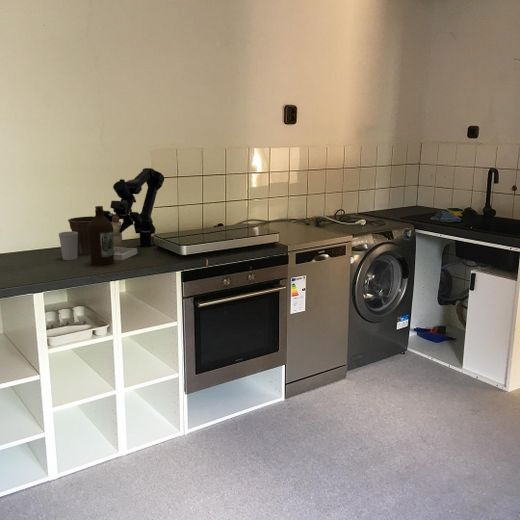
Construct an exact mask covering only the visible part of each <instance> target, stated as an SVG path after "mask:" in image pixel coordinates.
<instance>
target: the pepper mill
mask: <svg viewBox="0 0 520 520" xmlns="http://www.w3.org/2000/svg"><path fill="white" fill-rule="evenodd" d="M112 220H113V222H111V223H112V225H113V229H114V247H120V248H123V232H122V233H120V232H119V231H120V228H121V225H122V221H120V220H121V219H120V218H119V216H118V215H114V216H113V217H112Z"/></svg>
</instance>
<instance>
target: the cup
mask: <svg viewBox="0 0 520 520" xmlns="http://www.w3.org/2000/svg"><path fill="white" fill-rule="evenodd" d="M58 237H59V243H60V251H61V256H62V257H61V258H62V260H63V261H64V260H65V261H73V260H77V259H78V254H77V244H78V232H72V230H71V231H61V232H58Z"/></svg>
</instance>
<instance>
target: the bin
mask: <svg viewBox="0 0 520 520" xmlns="http://www.w3.org/2000/svg"><path fill="white" fill-rule="evenodd" d="M116 252H121V253H122V254H115V253H116ZM137 254H138V248H134V247H114V261H124V260H127V259H128V258H131V257H134V256H135V255H137Z"/></svg>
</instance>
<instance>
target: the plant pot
mask: <svg viewBox="0 0 520 520" xmlns="http://www.w3.org/2000/svg"><path fill="white" fill-rule="evenodd" d="M94 217H95V215H93V216H91V215H89V216H88V215H87V216H79V217H78V216H77V217H72V218H69V219H67V221H68V222H69V228H70V230H71V231H72V232H78V244H77V255H90V248H89V239H88V231H87V229H88V225H89V223H90V222H91V220H92V219H93V218H94Z"/></svg>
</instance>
